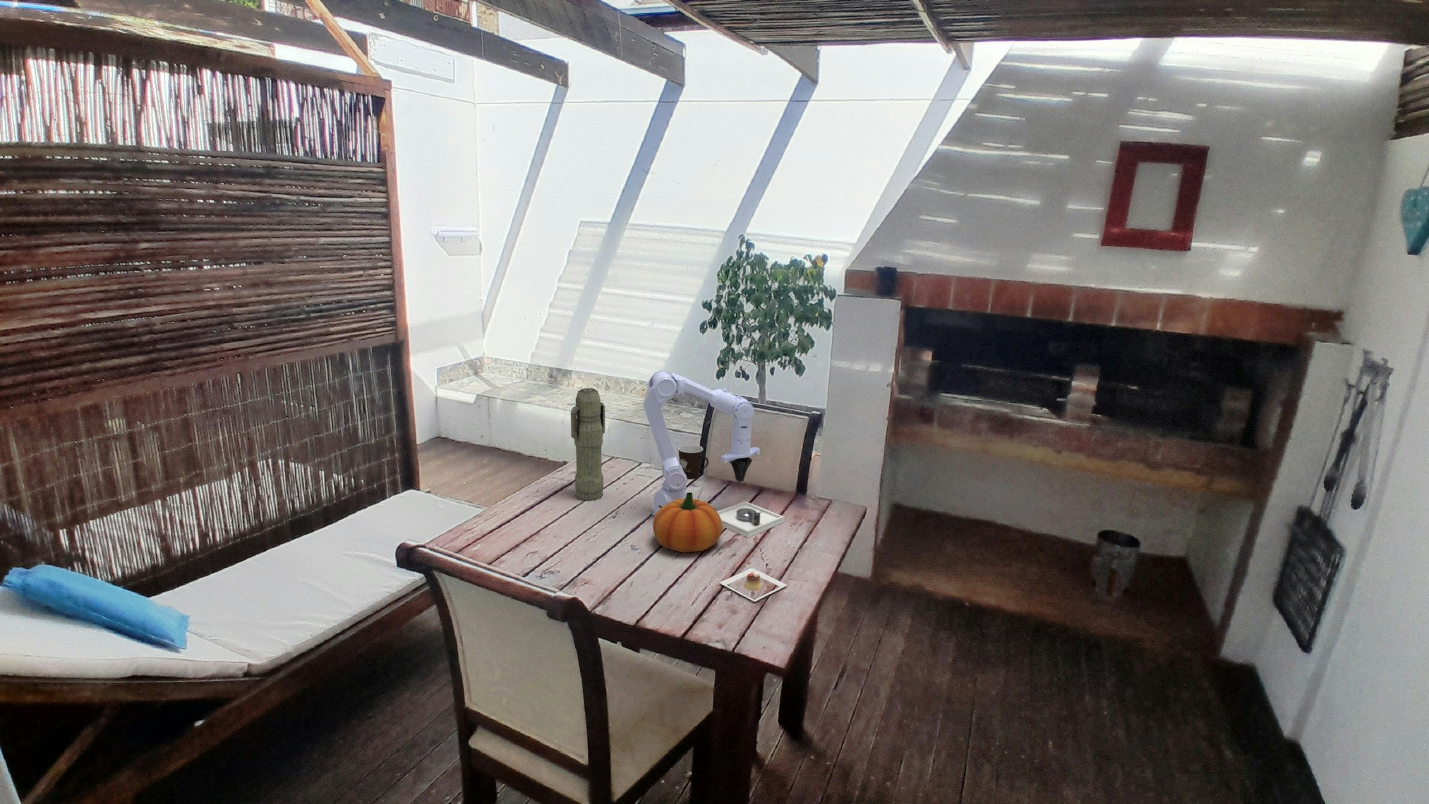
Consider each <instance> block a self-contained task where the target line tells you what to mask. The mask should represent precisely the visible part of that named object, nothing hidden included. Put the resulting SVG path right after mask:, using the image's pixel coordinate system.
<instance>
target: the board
mask: <svg viewBox="0 0 1429 804" xmlns="http://www.w3.org/2000/svg"><path fill="white" fill-rule="evenodd" d="M742 508H749V509H753V510H755V511H756V512H758V513H760V524H759V525H754V523H753V522H751V521H745V520H740V519H738V518H737V517H736V513H737V510H739V509H742ZM716 511H717V513H718V514H719V516H720V518H721V522H722V528H725V529H728V530H730V531H732V532H735V533H737V534H739V535H741V536H743V537H746V538H750V537H752V536H754V535H758V534H759V533H761V532H764V531H767V530H770V529H772V528H774V527H776V526H779V525H781V524H783V523H785V516H784V515H782V514H781V515H780V514H779V513H775V512H773V511H771V510H769V509H766V508H763V507H761V506H758V505H756V504H753V503H751V502H748V501H742V502H739V503H736V504H734V505H731V506H728V507H726V508H723V509H720V510H716Z"/></svg>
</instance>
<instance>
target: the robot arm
mask: <svg viewBox="0 0 1429 804" xmlns="http://www.w3.org/2000/svg"><path fill="white" fill-rule="evenodd" d="M646 388H647V389H646V391H645V395H644V399H643V403H642V405H643V408H644V412H645V415H646V418H647V421H648V424H649V427H650V429H651V432H652V435H653V439H654V442H655V445H656V449H657V450H658V453H659V457H660V460H661V464H662V469H661V473H662V476H663V477H664V481H663V483H662V485H661V488H660V489H659V490H657V491H655V493H654V495H653V512H652V513H651V515H652V516H654V517H655V514H656V513H657V512H658V511H659V510H660V509H661V508H662V507H664V506H665V505H667V504H668V503H670V502H672V501H675V500H677V499H685V498H686V495H687V483H688V479H687V476H686V474H685V473H684V471H683V468H682V466H681V464H680V462H679V459H678V458H677V454H676V452H675V448H674V445H673V443H672V439H671V437H670V433H669V429H668V427H667V424H666V420H665V418H664V416H663V415H664V414H663V411H662V407H663V406H664V405H665V403H666V402H667V401H668V400H669V399H670V398H672V396H674V395H675V394H676V395H677V396H679V395H681V394H685V393H687V394H689V395H690V394H691V395H693V396H696V397H697V398H701V399H704V400H706V401H708V402H709V405H710V407H712V408H714V409H716V410H719V411H720V412H721V411H722V413H723V412H724V413H727V414H728V415H732V427H731V428H732V430H731V449H729V451H728V452H727V453H725V454H724V455H721V456H720V462H721V463H723V464H728V463H729V462H730V463H729V464H730V465H731V466H732V467H731V468H732V470H733V473H734V476H735V478H734V479H735V481H737V482H739V483H742V482H744V480H745V477H746V474H747V471H748V468H749V467H750V465H751V463H753V459H752V458H750V457H751V456H755V455H757V456H759V455H760V453H761V449H760V447H756V446H754V447H752V446H751V442H752V440H751V439H752V418H753V417H754V416H755V412H756V411H755V409H754V407H753V405H752V404H751V402H749V401H748V399H747V398H745V397H743V396H741V395H738V394H737V395H734V394H733V393H729V392H728V390H727V389H726V388H722V389H721V388H716V389H714V390H713V389H710V388H708V387H706V386H704V385H702V384H699V383H697V382H695V381H693V380H690V379H689V378H687V377H684V376H682V375H680V374H677V373H673V372H669V371H667V370H664V369H660V370H657V371H656V372H654V373H653V374H652V376H650V378H649V380H648V382H647V387H646Z"/></svg>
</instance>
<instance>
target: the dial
mask: <svg viewBox="0 0 1429 804" xmlns="http://www.w3.org/2000/svg"><path fill="white" fill-rule="evenodd" d="M736 517H737V518H738V519H740V520H745V521H751V522H753V523H754V525H759V524H760V513H758V512H756V511H755V510H753V509H749V508H742V509H739V510H737V513H736Z"/></svg>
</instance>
